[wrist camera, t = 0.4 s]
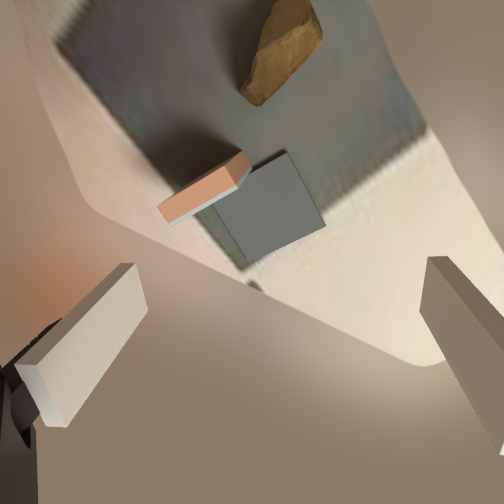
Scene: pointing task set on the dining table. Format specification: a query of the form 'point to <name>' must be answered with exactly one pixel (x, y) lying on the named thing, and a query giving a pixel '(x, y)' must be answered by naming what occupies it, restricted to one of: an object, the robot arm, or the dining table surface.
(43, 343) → the robot arm
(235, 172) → the tile
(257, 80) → the rock
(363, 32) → the dining table surface
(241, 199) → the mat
